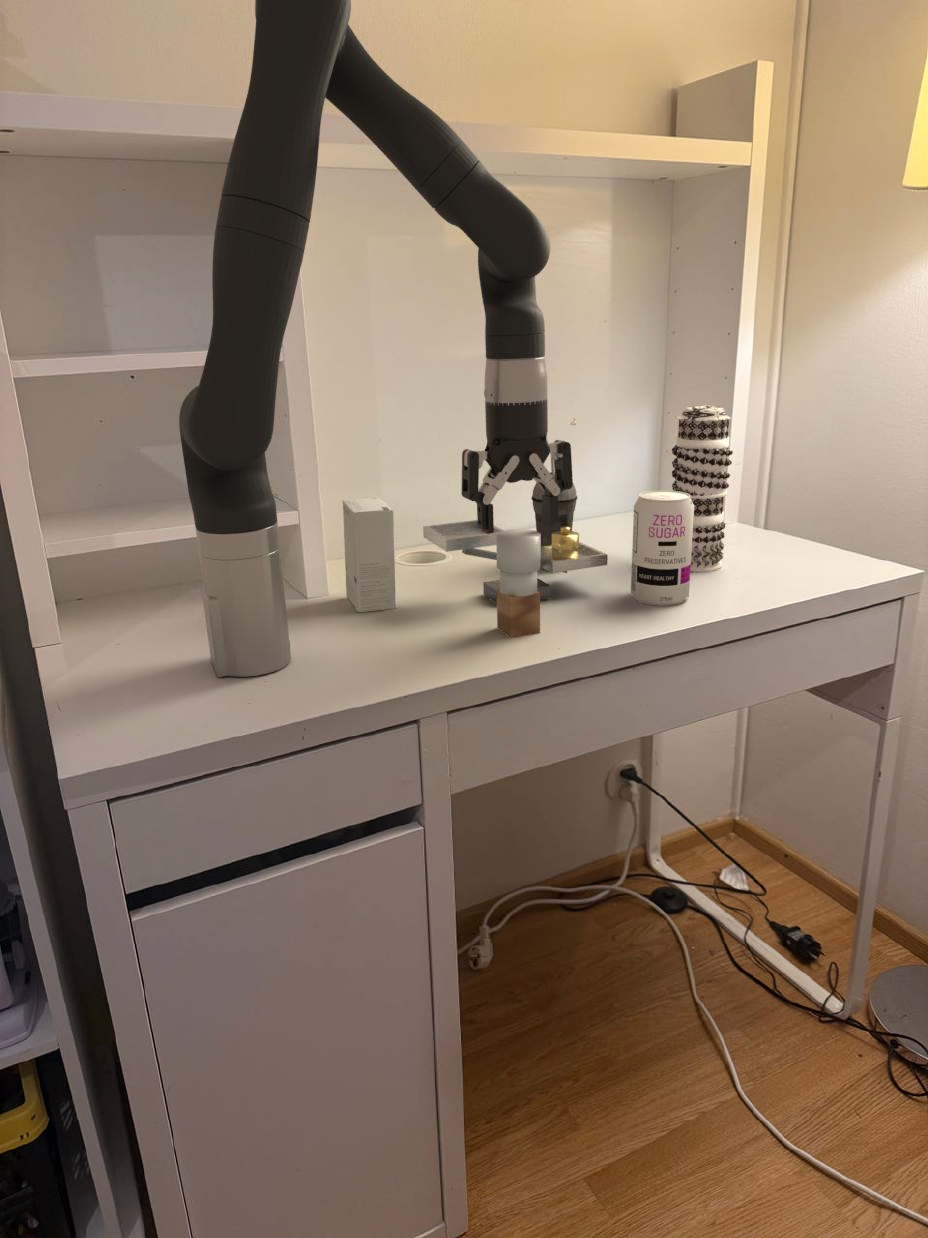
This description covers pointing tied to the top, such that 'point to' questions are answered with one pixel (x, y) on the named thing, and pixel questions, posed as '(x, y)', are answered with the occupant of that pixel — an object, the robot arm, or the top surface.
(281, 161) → the robot arm
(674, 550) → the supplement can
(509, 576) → the white stepped cylinder
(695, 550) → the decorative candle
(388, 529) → the skincare box
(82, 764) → the top surface
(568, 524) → the beverage cup
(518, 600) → the walnut block
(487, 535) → the balance
